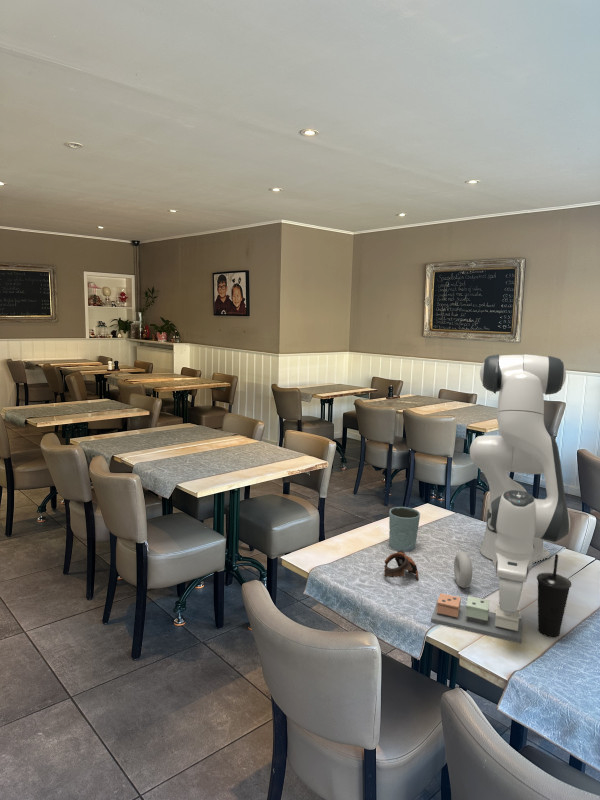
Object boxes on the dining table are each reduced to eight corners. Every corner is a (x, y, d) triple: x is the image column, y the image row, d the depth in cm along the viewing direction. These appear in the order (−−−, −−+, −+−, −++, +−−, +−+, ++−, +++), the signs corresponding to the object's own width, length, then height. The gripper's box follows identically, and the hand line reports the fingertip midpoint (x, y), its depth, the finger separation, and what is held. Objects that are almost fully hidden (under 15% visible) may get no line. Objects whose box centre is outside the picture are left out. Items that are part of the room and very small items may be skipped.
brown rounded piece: (423, 587, 158) (412, 565, 155) (392, 597, 160) (381, 576, 157) (417, 559, 169) (407, 539, 166) (388, 569, 171) (378, 549, 168)
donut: (451, 577, 163) (453, 545, 162) (463, 578, 163) (465, 545, 162) (460, 594, 153) (462, 560, 152) (472, 594, 153) (475, 560, 152)
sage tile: (465, 615, 138) (466, 604, 137) (467, 606, 142) (468, 595, 142) (487, 620, 136) (488, 609, 135) (488, 610, 140) (489, 600, 140)
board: (430, 622, 139) (431, 612, 138) (437, 603, 148) (437, 594, 148) (520, 643, 131) (521, 633, 131) (521, 622, 140) (522, 613, 140)
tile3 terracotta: (436, 612, 140) (437, 601, 140) (439, 603, 145) (440, 592, 145) (457, 617, 138) (458, 606, 138) (460, 607, 143) (460, 597, 143)
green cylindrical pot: (403, 538, 191) (406, 505, 189) (424, 549, 183) (427, 514, 181) (380, 543, 186) (382, 509, 184) (401, 555, 178) (403, 519, 176)
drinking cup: (525, 623, 139) (533, 548, 136) (554, 623, 140) (563, 548, 137) (541, 641, 132) (549, 561, 129) (572, 640, 133) (581, 561, 130)
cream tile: (494, 625, 135) (495, 614, 135) (496, 615, 140) (497, 604, 139) (517, 630, 133) (518, 619, 133) (518, 620, 138) (519, 609, 138)
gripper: (501, 541, 145) (496, 590, 147) (496, 573, 126) (491, 629, 128) (527, 545, 142) (522, 595, 144) (526, 578, 124) (520, 636, 126)
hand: (507, 612), depth 136 cm, fingers closed, pressing on cream tile
